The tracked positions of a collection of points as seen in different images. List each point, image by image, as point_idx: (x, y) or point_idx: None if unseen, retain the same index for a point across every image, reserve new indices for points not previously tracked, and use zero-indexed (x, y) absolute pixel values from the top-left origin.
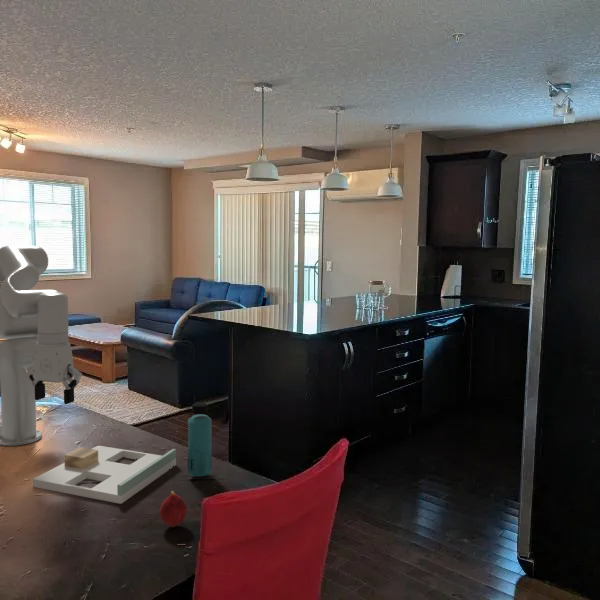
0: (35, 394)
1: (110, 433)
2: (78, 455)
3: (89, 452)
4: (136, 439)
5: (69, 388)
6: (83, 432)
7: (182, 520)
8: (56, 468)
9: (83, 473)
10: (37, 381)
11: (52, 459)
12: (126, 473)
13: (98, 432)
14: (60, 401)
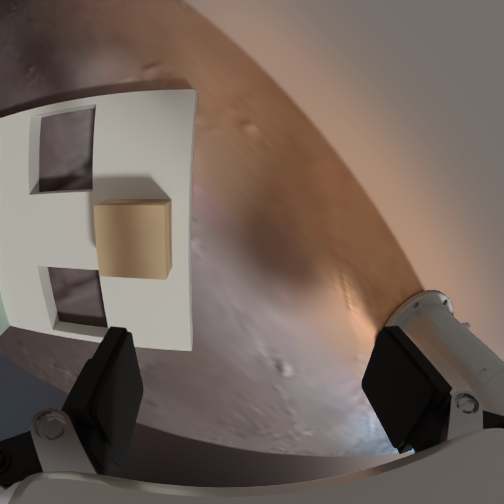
0: (410, 346)
1: (246, 420)
2: (119, 217)
3: (108, 251)
4: (168, 411)
5: (38, 417)
6: (307, 406)
7: None
8: (180, 174)
9: (93, 179)
10: (451, 430)
11: (275, 265)
12: (14, 219)
13: (275, 416)
14: None
